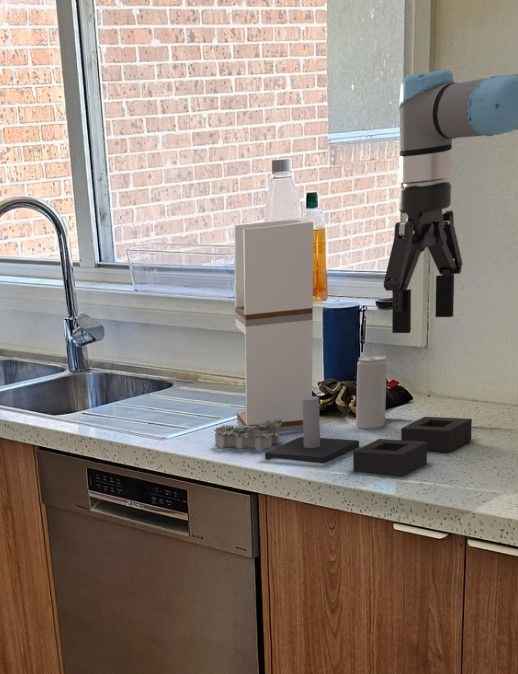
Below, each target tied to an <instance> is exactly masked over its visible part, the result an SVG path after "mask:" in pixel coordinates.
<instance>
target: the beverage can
mask: <svg viewBox="0 0 518 674" xmlns="http://www.w3.org/2000/svg"><path fill="white" fill-rule="evenodd" d="M357 360H358V361H357V365H356V367H357V368H356V371H357V372H356V405H355V406H356V409H355V411H356V413H355V425H356V427H357V429H360V430H377V429H382V428H383V427H384V426H385V424H386V403H387V402H386V400H387V399H386V397H387V369H388V361H387V356H386V355H380V354H379V355H378V354H377V355H376V354H374V355H364V356H359V357H358V359H357Z"/></svg>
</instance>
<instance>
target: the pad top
mask: <svg viewBox="0 0 518 674" xmlns="http://www.w3.org/2000/svg"><path fill="white" fill-rule="evenodd" d="M472 429H473V419H472V418H464V417H463V418H462V417H461V418H460V417H442V416H441V417H439V416H423V417H421V418H419V419H416V420H414V421H413V422H411V423H409V424H407V425H405V426H403V427H401V428H400V440H405V441H421V442H427V452H435V453H450V452H452V451H453V450H456V449H457V448H459V447H461V446H463V445H465V444H467V443H469V442H471V441H472V431H473V430H472Z"/></svg>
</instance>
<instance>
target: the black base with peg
mask: <svg viewBox="0 0 518 674" xmlns="http://www.w3.org/2000/svg"><path fill="white" fill-rule="evenodd" d="M302 403H303V430H302V431H303V432H302V435H303V436H299V437H297V438H294V439H292V440H290V441H288V442H286V443H283V444H281V445H279V446H277V447H275V448H273V449H269V450H268V451H266V452H264V459H265V460H271V459H279V460H287V461H296V462H307V463H317V464H326V463H328V462H330V461H332V460H335V459H337V458H339V457H341V456H344V455H346V454H348V453H351V452H352V451H356V450H358V449H360V440H359V439H358V440H357V439H345V438H344V439H343V438H330V437H329V438H328V437H327V438H326V437H321V428H320V427H321V426H320V424H321V423H320V421H321V420H320V396H316V395H312V396H310V397H305V398H303V399H302Z"/></svg>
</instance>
